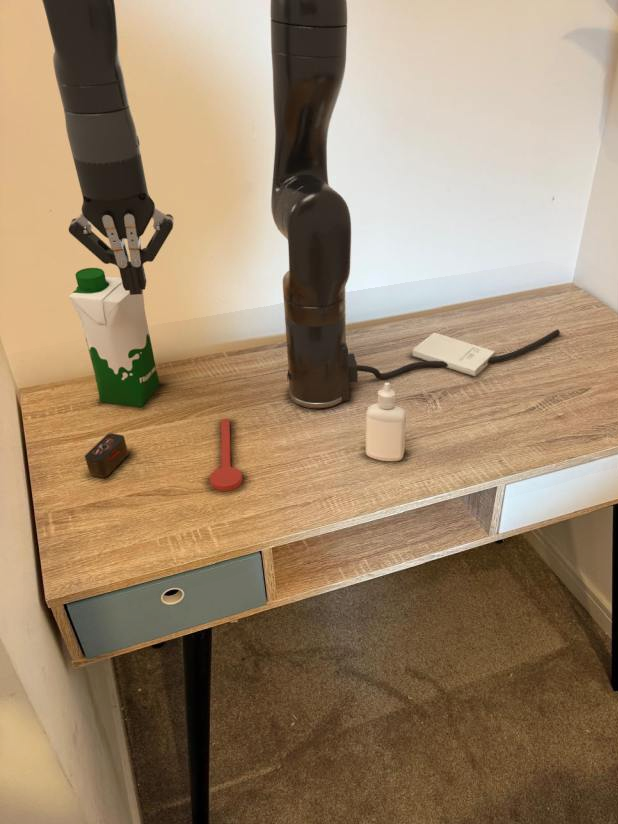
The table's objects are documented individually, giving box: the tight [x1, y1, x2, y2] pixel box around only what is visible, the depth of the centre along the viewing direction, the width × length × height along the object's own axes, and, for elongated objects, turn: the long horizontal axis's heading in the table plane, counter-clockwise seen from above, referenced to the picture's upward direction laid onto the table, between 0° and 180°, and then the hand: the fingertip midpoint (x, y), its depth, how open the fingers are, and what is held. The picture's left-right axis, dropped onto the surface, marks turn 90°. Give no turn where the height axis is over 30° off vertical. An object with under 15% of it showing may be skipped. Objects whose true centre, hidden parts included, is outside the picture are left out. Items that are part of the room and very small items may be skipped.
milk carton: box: [68, 267, 161, 408], centre depth 113 cm, size 9×9×20 cm
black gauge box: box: [84, 432, 129, 478], centre depth 105 cm, size 5×7×3 cm, turn 163°
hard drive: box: [411, 332, 497, 377], centre depth 131 cm, size 2×8×12 cm
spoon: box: [209, 418, 243, 492], centre depth 108 cm, size 4×17×1 cm, turn 10°
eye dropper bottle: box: [365, 382, 407, 462], centre depth 105 cm, size 4×6×12 cm
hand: (136, 291), depth 97 cm, fingers closed
